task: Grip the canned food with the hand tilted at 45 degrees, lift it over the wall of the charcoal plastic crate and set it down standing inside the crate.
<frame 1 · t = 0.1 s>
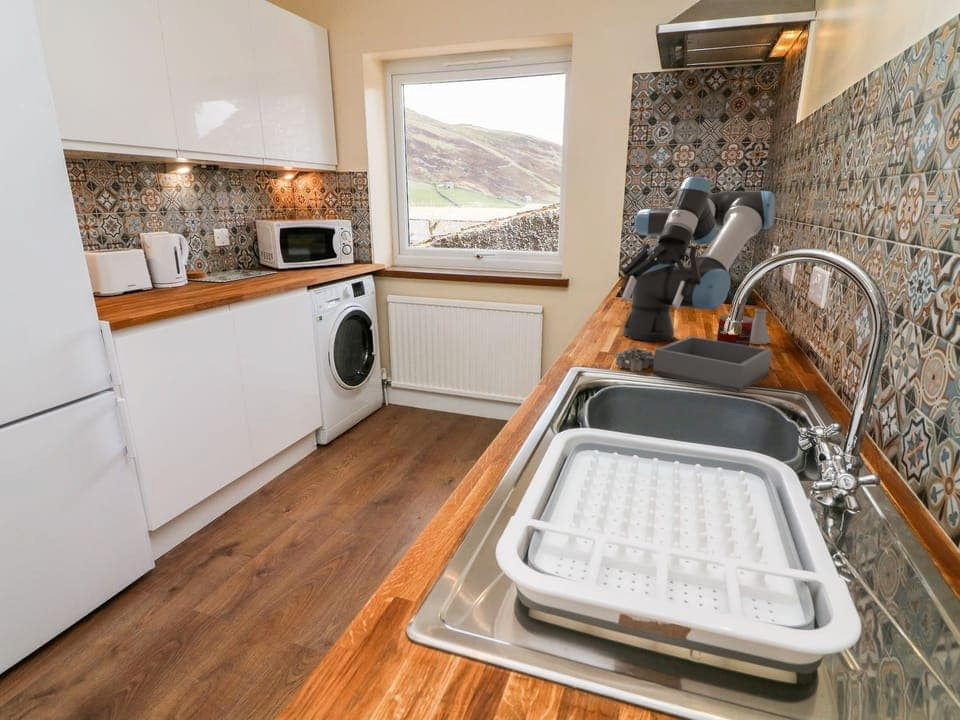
hand: (649, 303, 136), 15 cm above the countertop, tool tilted 35°, fingers open, 13 cm apart
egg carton: (634, 366, 138), on the countertop
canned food: (730, 358, 146), on the countertop
flask: (756, 343, 163), on the countertop
crate: (710, 373, 131), on the countertop
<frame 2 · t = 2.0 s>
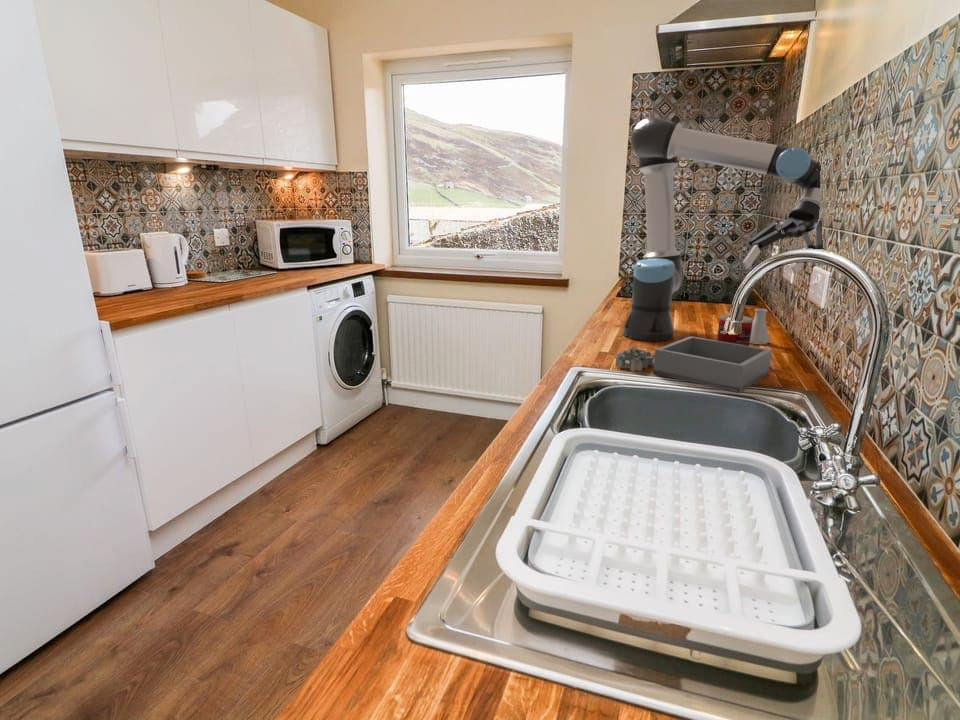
hand: (768, 268, 144), 23 cm above the countertop, tool tilted 45°, fingers open, 13 cm apart
nothing on the countertop moved.
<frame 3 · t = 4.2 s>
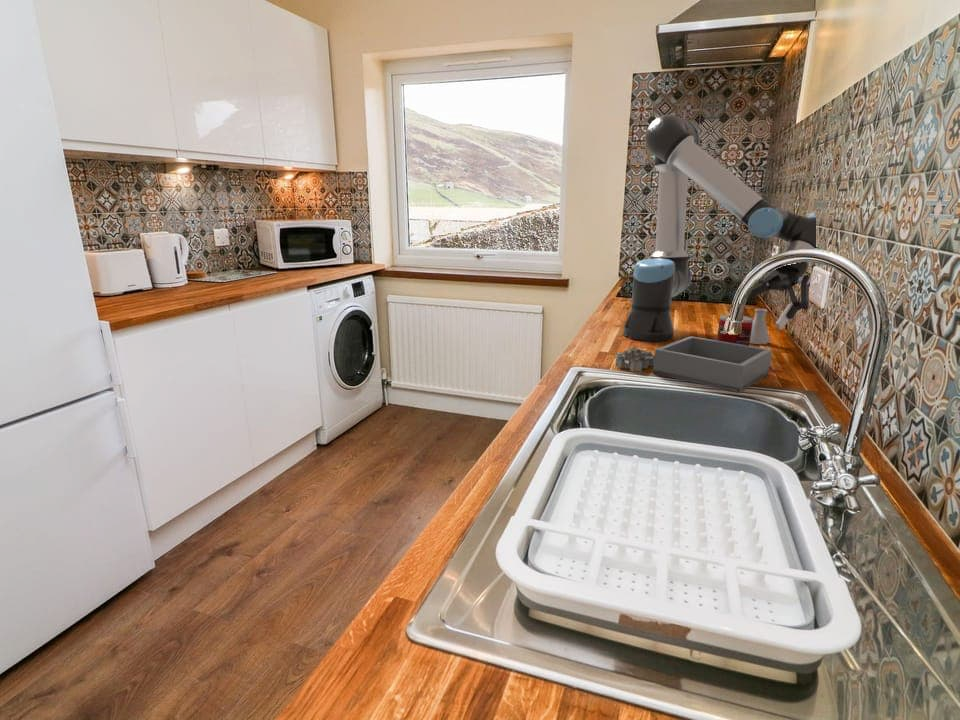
hand: (753, 322, 144), 9 cm above the countertop, tool tilted 45°, fingers open, 13 cm apart
nothing on the countertop moved.
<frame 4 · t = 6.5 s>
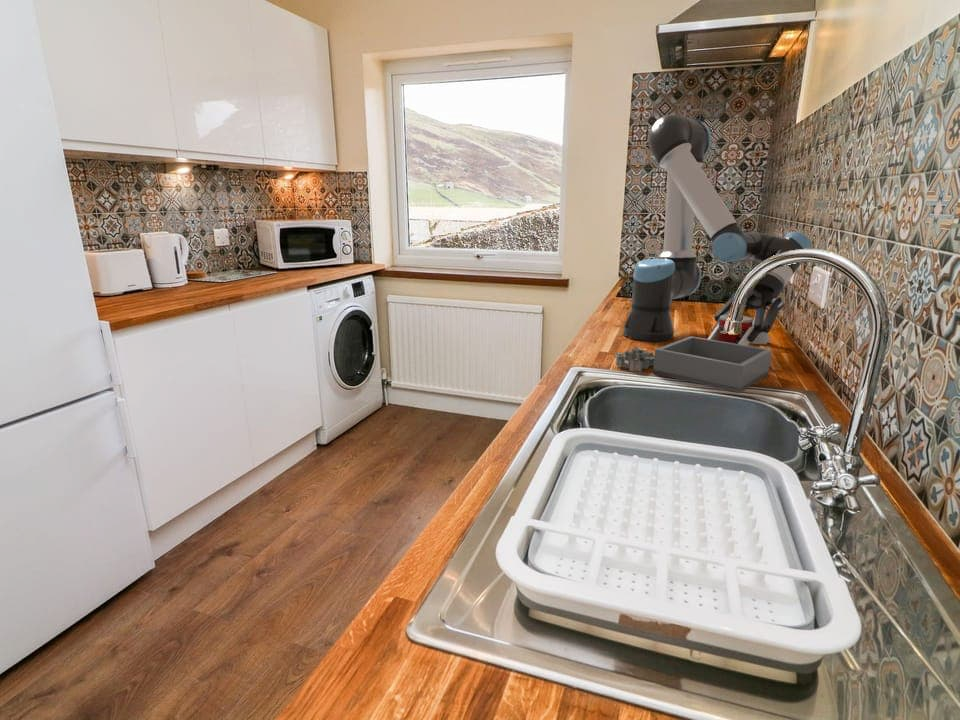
hand: (724, 345, 143), 4 cm above the countertop, tool tilted 45°, fingers closed on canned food, 8 cm apart
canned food: (730, 358, 145), on the countertop, touching gripper
everything else where it was.
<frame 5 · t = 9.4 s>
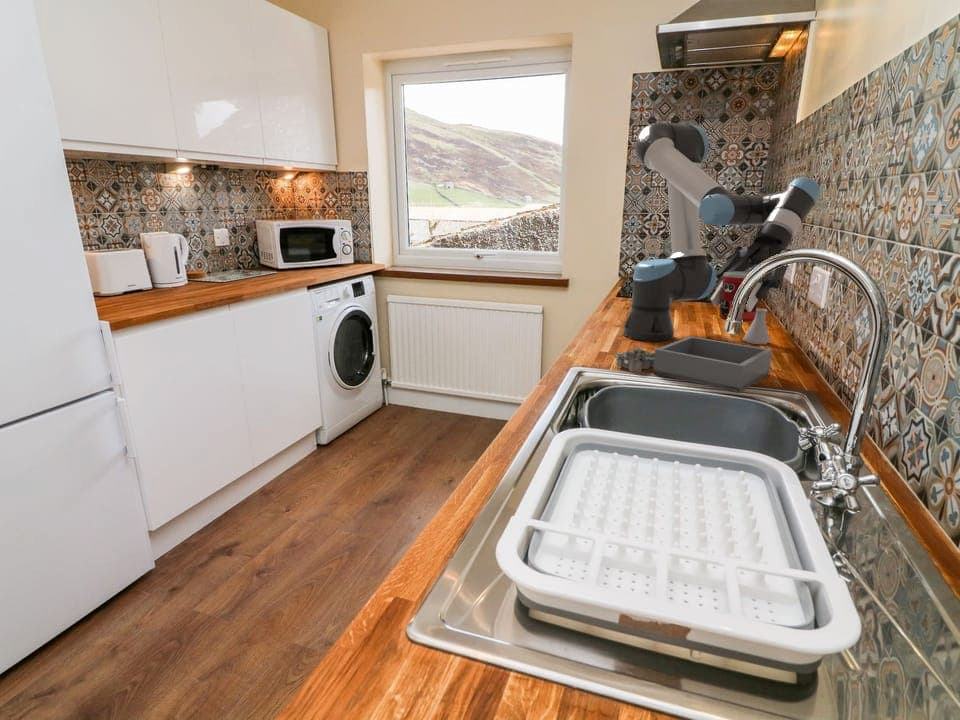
hand: (729, 305, 128), 16 cm above the countertop, tool tilted 45°, fingers closed on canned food, 8 cm apart
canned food: (736, 319, 131), point 13 cm above the countertop, touching gripper
everything else where it was.
when the fingers open (6 cm above the countertop, at t = 12.3 s): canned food drops 1 cm, resting on crate.
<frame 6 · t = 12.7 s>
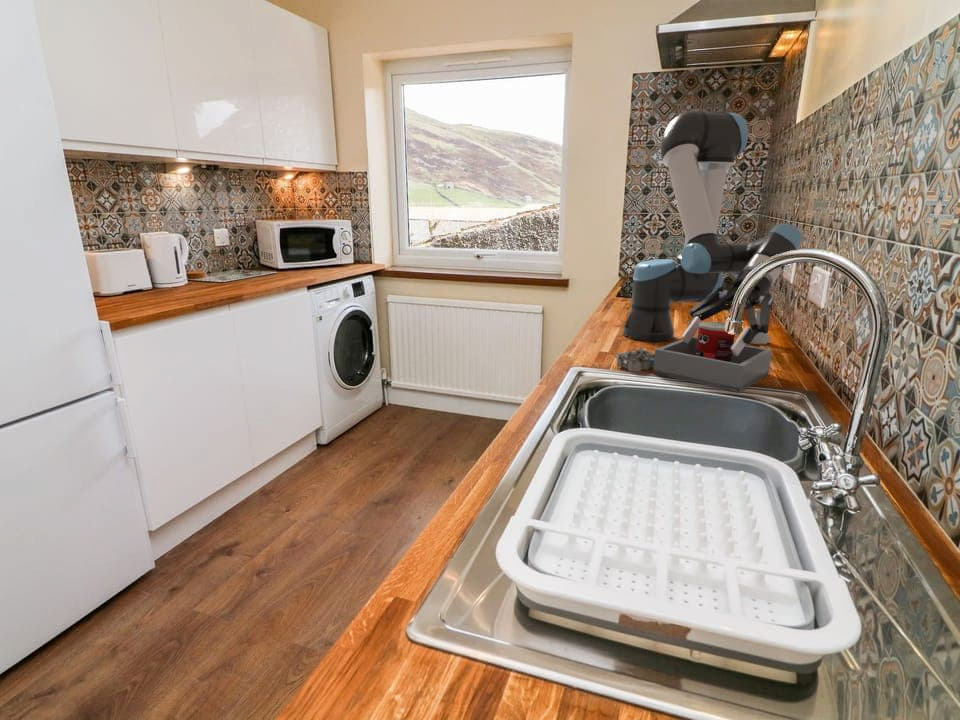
hand: (708, 346, 128), 7 cm above the countertop, tool tilted 45°, fingers open, 13 cm apart
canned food: (711, 370, 131), point 1 cm above the countertop, touching crate
everything else where it was.
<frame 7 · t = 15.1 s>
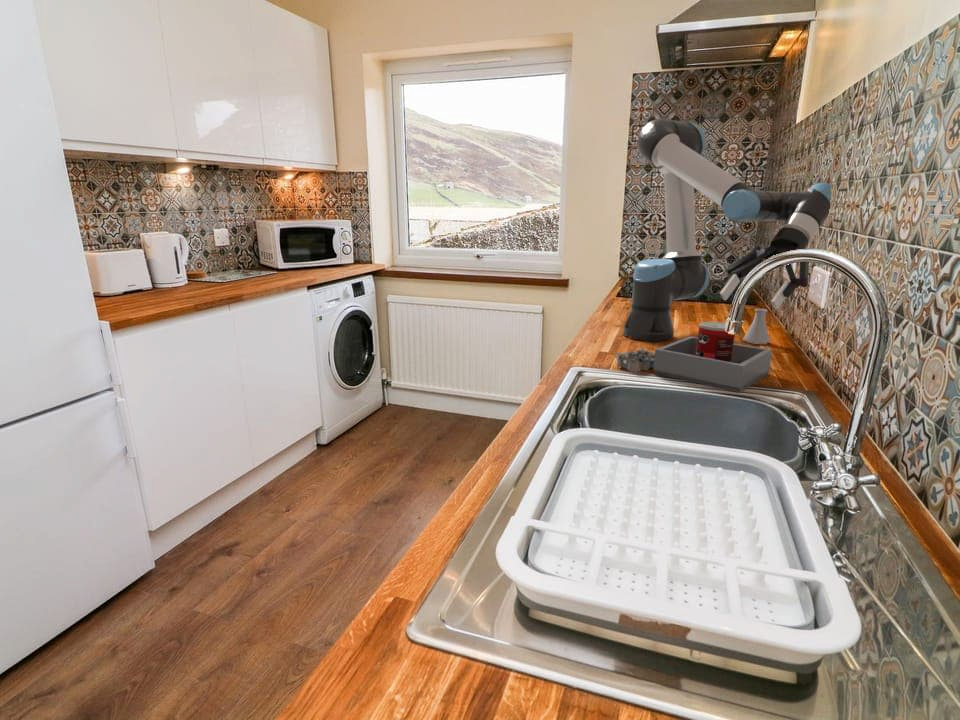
hand: (747, 301, 131), 17 cm above the countertop, tool tilted 45°, fingers open, 13 cm apart
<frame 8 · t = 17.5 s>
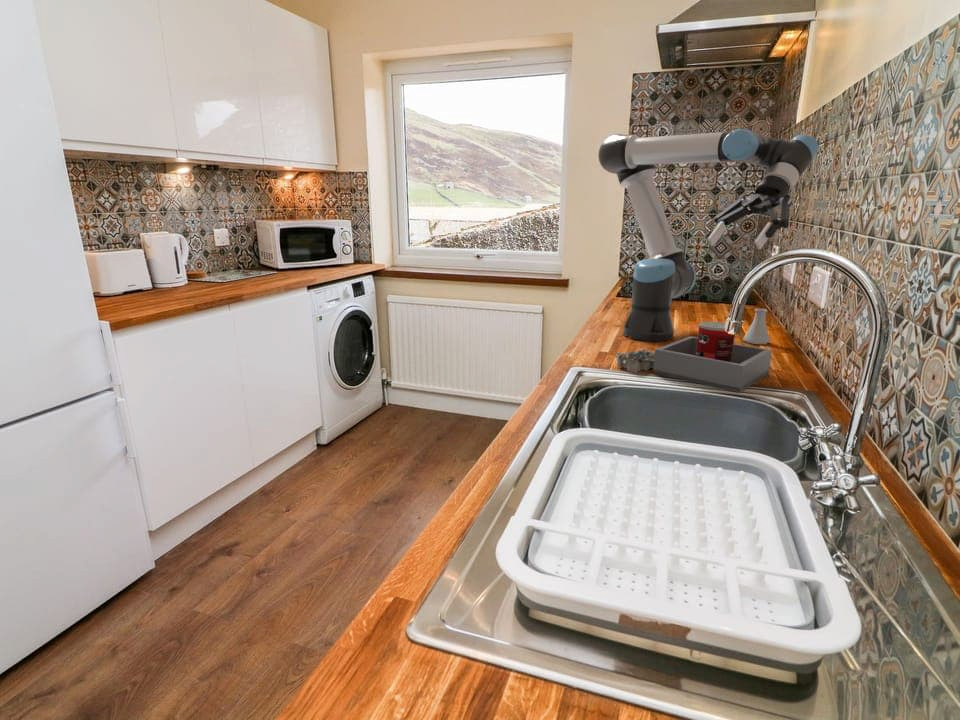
hand: (732, 244, 140), 30 cm above the countertop, tool tilted 45°, fingers open, 13 cm apart
at the end: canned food inside the target area on the crate (0.1 cm from its centre), point 0.8 cm above the crate's base; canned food tilted 0°; the gripper is holding nothing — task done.
